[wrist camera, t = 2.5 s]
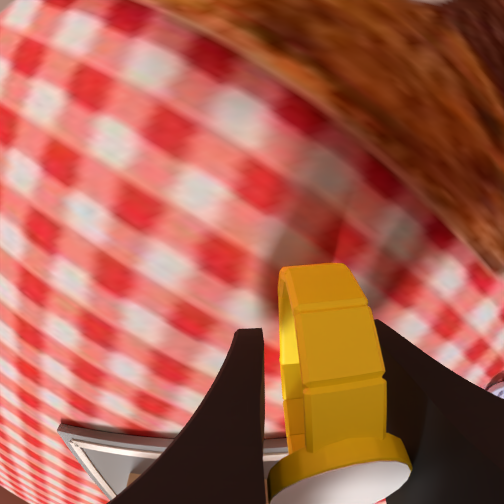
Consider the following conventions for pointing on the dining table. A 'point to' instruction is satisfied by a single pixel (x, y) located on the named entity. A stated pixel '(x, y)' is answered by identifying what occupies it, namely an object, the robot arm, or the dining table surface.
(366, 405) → the watch
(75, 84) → the dining table surface
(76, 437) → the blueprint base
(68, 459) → the dining table surface
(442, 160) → the dining table surface
